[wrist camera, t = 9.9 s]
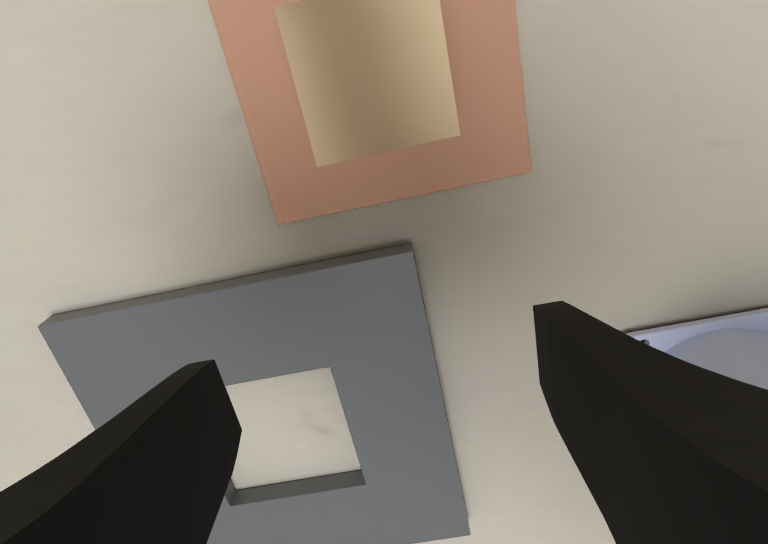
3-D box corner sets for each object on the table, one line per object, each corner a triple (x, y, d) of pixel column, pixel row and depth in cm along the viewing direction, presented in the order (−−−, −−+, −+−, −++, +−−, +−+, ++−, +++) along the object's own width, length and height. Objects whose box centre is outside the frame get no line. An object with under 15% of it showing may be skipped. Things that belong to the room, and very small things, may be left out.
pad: (496, -148, 15) (499, -154, 15) (528, 169, 19) (531, 171, 19) (190, -67, 16) (185, -70, 16) (279, 221, 20) (277, 224, 20)
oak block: (420, -7, 16) (434, -34, 12) (441, 116, 18) (460, 135, 13) (304, 22, 17) (273, 7, 12) (334, 140, 18) (317, 167, 14)
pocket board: (411, 243, 20) (412, 251, 19) (467, 518, 26) (470, 534, 25) (52, 315, 22) (37, 326, 21) (185, 561, 28) (178, 578, 27)
